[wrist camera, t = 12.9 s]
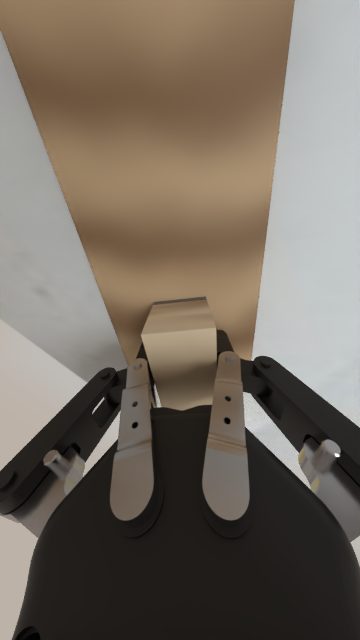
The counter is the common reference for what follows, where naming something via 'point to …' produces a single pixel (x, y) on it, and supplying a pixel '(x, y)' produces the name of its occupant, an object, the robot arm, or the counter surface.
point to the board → (161, 143)
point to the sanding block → (182, 352)
